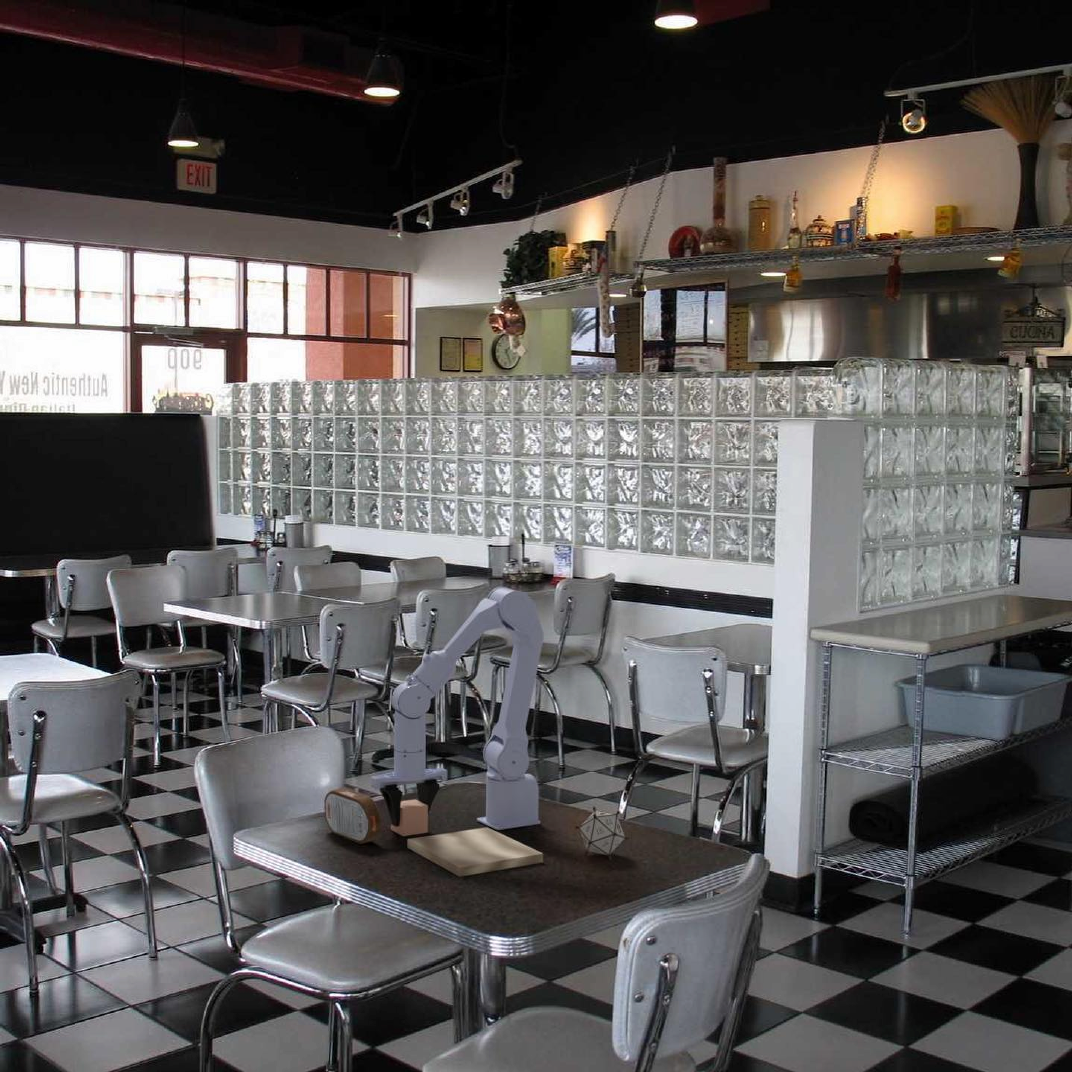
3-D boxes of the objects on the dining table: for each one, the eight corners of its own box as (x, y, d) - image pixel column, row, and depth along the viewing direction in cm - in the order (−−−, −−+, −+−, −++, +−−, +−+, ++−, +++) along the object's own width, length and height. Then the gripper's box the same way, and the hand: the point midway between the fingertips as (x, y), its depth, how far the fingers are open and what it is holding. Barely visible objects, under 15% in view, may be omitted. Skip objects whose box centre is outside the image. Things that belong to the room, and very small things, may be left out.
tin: (382, 846, 230) (383, 798, 229) (367, 849, 228) (368, 801, 227) (335, 828, 241) (335, 782, 240) (320, 831, 239) (321, 785, 238)
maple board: (487, 835, 237) (487, 827, 237) (542, 862, 221) (543, 853, 221) (407, 847, 228) (407, 839, 228) (459, 876, 212) (459, 867, 212)
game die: (591, 874, 227) (575, 820, 232) (638, 858, 226) (620, 804, 231) (582, 862, 219) (565, 806, 224) (630, 845, 219) (612, 790, 224)
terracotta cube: (415, 826, 243) (415, 799, 242) (427, 832, 238) (427, 805, 238) (390, 829, 240) (391, 802, 240) (402, 836, 236) (403, 808, 235)
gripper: (435, 741, 246) (434, 813, 246) (364, 749, 238) (363, 823, 239) (452, 748, 240) (452, 821, 240) (380, 756, 232) (380, 832, 233)
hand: (409, 823), depth 239 cm, fingers closed on terracotta cube, 5 cm apart
